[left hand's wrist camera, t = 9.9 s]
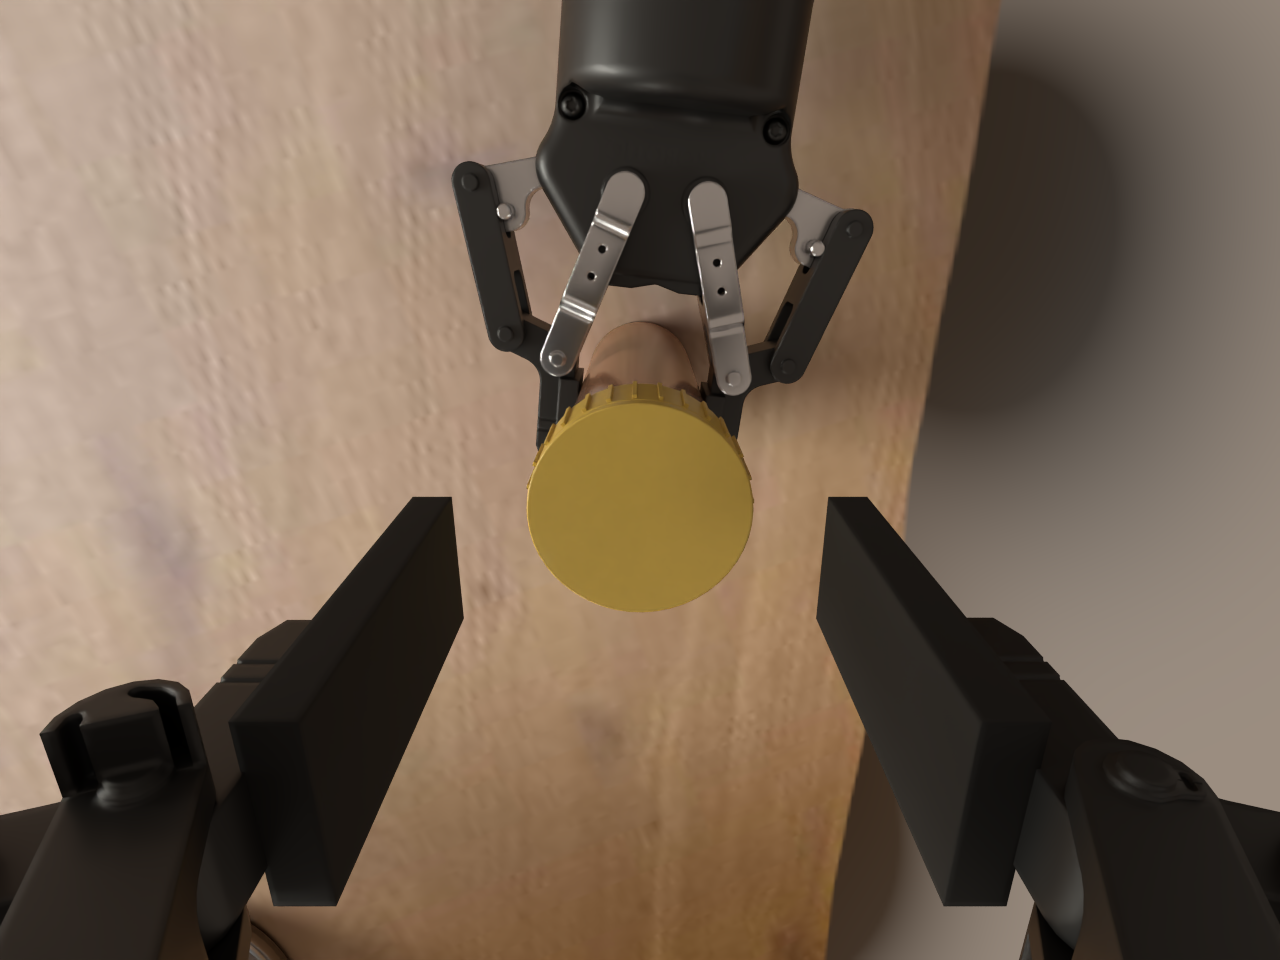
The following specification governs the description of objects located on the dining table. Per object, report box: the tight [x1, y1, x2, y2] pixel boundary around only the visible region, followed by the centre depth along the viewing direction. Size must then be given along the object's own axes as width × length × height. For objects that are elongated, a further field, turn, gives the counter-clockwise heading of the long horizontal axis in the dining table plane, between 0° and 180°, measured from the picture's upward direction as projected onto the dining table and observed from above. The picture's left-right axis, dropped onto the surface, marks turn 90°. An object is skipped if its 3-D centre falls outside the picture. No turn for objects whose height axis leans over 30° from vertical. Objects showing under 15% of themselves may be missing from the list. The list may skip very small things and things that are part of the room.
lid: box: [526, 381, 754, 612], centre depth 17 cm, size 5×5×2 cm
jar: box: [575, 322, 703, 405], centre depth 24 cm, size 4×4×16 cm
